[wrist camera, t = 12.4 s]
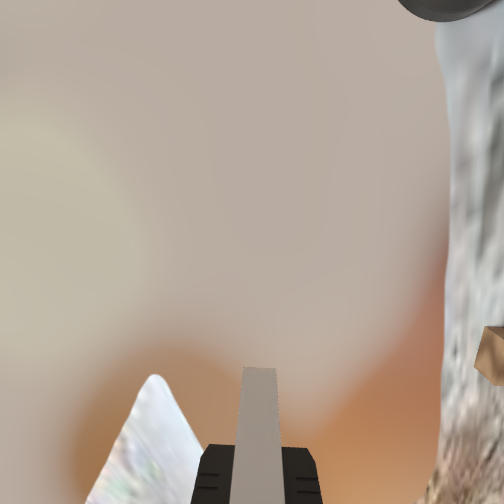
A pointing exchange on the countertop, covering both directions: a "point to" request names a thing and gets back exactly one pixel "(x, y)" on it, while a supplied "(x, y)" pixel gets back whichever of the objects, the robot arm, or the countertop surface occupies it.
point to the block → (491, 355)
